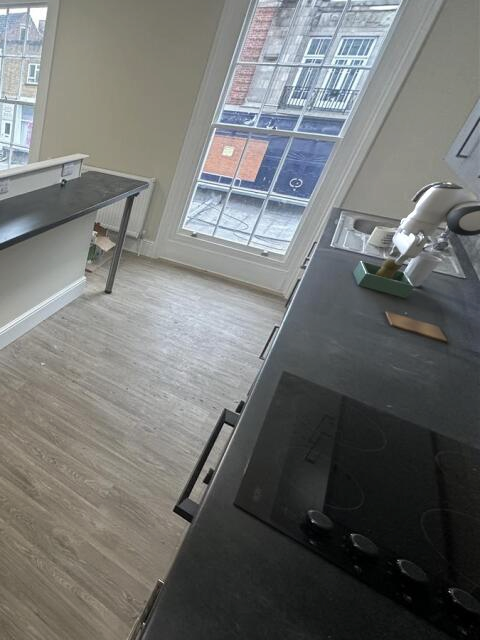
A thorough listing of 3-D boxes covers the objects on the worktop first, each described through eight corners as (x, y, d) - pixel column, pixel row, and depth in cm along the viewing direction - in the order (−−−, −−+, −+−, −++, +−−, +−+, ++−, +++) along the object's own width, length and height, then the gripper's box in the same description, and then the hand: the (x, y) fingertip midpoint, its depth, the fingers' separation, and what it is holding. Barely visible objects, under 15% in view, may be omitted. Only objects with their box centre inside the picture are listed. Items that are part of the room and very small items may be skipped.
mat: (437, 328, 137) (438, 326, 137) (446, 342, 130) (447, 340, 130) (384, 312, 143) (386, 311, 143) (390, 325, 136) (391, 324, 136)
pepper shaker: (367, 283, 163) (384, 259, 157) (369, 279, 166) (385, 255, 161) (387, 289, 159) (405, 265, 153) (388, 285, 163) (405, 261, 157)
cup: (404, 285, 164) (424, 259, 158) (391, 276, 171) (410, 251, 165) (426, 288, 163) (447, 263, 157) (413, 279, 170) (432, 254, 163)
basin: (397, 283, 165) (405, 272, 162) (405, 298, 154) (414, 286, 151) (353, 272, 171) (360, 260, 169) (358, 285, 161) (366, 273, 158)
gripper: (438, 238, 141) (411, 272, 148) (422, 222, 156) (399, 253, 163) (414, 233, 144) (389, 266, 151) (401, 217, 158) (379, 249, 166)
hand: (394, 259), depth 157 cm, fingers open, 8 cm apart
